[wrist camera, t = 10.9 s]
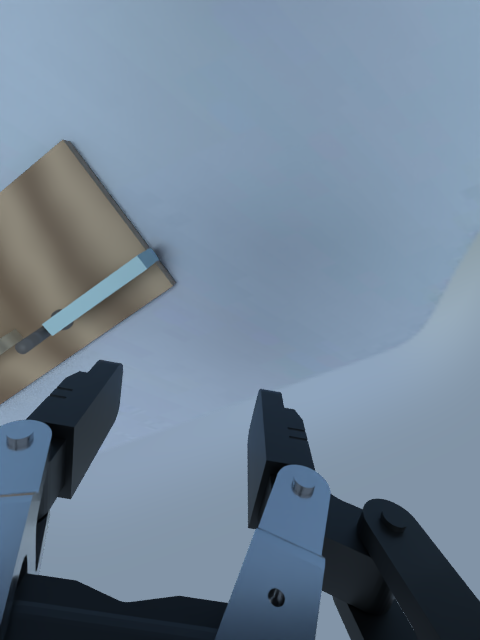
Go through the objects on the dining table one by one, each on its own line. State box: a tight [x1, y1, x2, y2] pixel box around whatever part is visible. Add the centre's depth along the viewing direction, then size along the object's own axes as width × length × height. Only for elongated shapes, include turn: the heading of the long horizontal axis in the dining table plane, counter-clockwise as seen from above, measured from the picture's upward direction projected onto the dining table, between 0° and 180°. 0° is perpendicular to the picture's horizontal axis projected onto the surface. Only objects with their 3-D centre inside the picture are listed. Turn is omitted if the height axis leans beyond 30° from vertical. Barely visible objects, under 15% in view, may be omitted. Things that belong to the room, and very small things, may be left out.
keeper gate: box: [42, 248, 159, 336], centre depth 28 cm, size 1×9×4 cm, turn 124°
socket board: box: [0, 140, 176, 404], centre depth 28 cm, size 22×13×7 cm, turn 124°
